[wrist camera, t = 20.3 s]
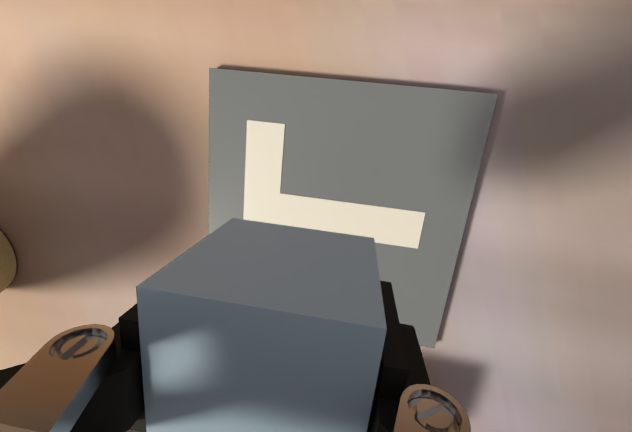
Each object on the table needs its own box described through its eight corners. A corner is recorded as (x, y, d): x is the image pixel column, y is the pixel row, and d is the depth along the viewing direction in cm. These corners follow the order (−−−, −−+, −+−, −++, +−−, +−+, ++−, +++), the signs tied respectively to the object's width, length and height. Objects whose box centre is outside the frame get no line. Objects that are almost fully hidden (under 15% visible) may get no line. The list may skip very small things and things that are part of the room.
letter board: (494, 94, 19) (498, 93, 18) (432, 343, 24) (434, 348, 23) (213, 69, 21) (209, 67, 20) (211, 304, 26) (208, 308, 25)
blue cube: (374, 237, 10) (386, 328, 6) (354, 358, 12) (350, 512, 7) (232, 217, 11) (135, 287, 6) (229, 336, 12) (149, 466, 8)
